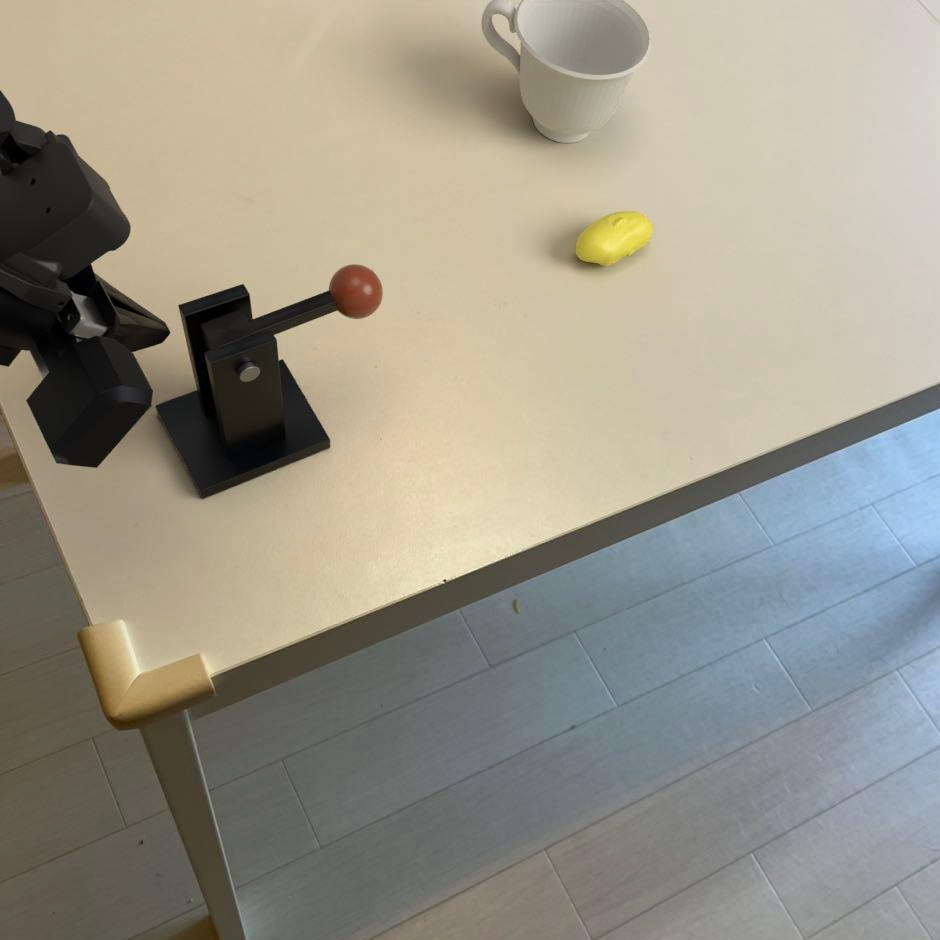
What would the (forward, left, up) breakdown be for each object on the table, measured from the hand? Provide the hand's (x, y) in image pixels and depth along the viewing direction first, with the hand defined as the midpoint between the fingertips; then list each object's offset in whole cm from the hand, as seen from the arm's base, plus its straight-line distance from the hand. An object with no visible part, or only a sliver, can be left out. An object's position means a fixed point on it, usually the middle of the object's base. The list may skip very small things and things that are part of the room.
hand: (164, 333), depth 62 cm
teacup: (+27, +39, -14) cm, 50 cm away
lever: (+8, +4, -4) cm, 10 cm away
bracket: (+3, +2, -14) cm, 14 cm away
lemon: (+32, +23, -14) cm, 42 cm away
